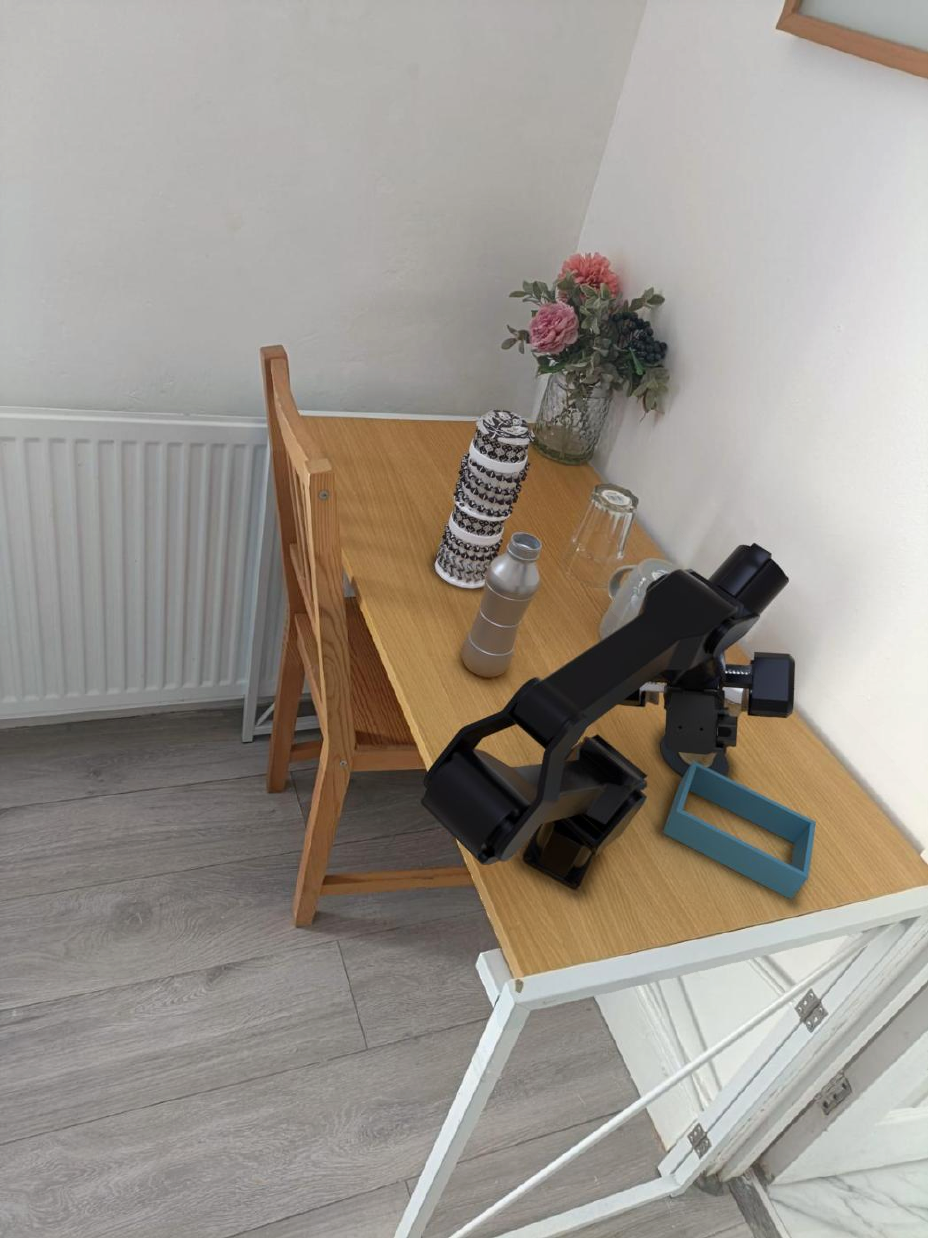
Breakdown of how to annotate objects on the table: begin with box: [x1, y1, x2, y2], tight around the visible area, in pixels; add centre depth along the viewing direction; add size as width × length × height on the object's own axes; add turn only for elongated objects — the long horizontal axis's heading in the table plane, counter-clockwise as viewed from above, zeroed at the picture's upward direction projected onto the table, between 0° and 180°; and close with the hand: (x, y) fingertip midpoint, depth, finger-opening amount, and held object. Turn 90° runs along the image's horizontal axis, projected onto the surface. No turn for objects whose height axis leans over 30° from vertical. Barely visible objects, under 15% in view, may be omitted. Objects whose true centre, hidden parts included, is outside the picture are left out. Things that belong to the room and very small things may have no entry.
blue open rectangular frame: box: [662, 761, 817, 900], centre depth 100 cm, size 9×15×4 cm, turn 66°
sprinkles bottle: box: [679, 671, 747, 768], centre depth 106 cm, size 5×5×13 cm
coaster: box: [659, 734, 730, 778], centre depth 110 cm, size 9×9×1 cm
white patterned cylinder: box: [434, 409, 536, 589], centre depth 122 cm, size 9×9×25 cm
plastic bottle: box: [460, 531, 543, 678], centre depth 108 cm, size 6×7×20 cm
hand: (699, 703), depth 97 cm, fingers open, 9 cm apart
